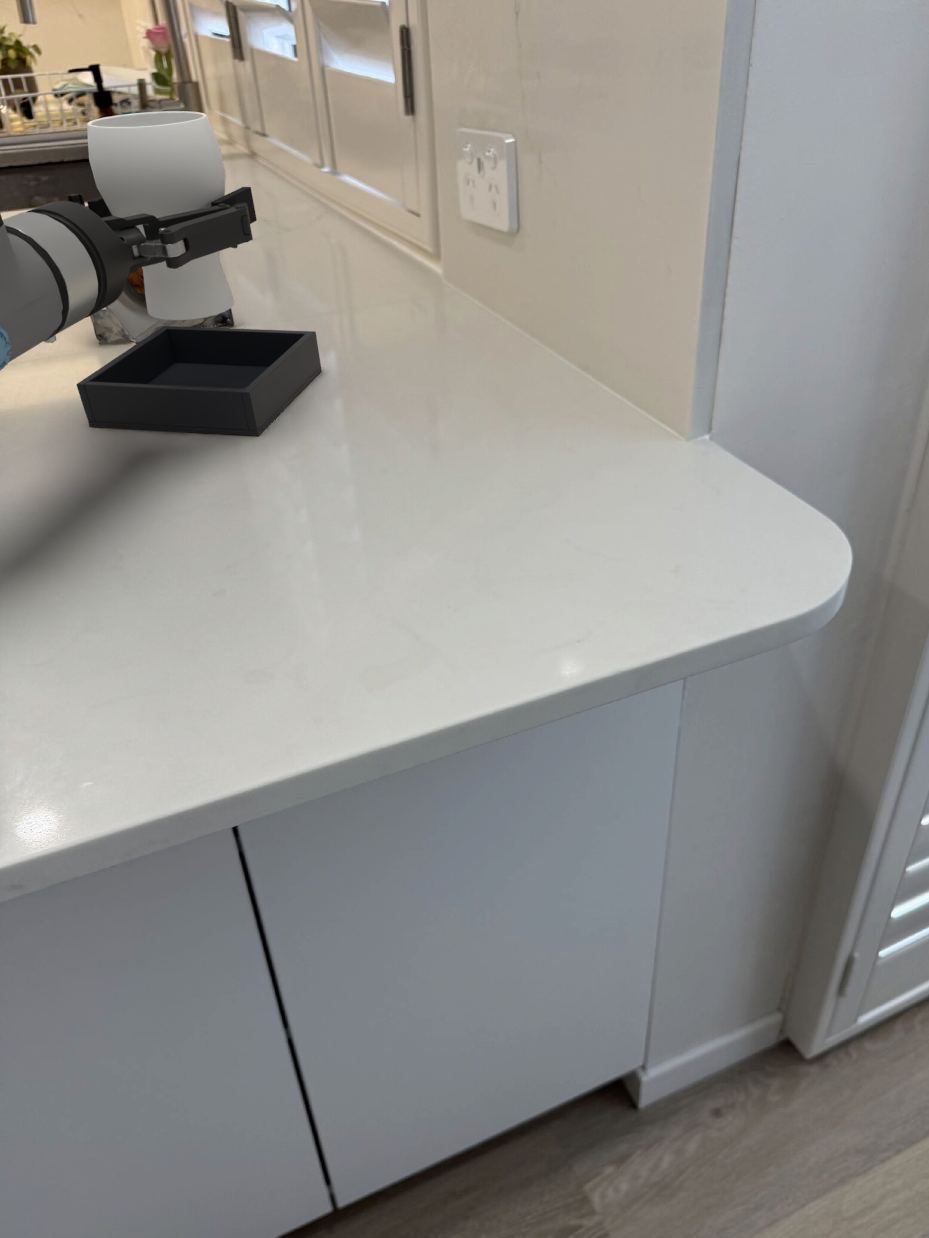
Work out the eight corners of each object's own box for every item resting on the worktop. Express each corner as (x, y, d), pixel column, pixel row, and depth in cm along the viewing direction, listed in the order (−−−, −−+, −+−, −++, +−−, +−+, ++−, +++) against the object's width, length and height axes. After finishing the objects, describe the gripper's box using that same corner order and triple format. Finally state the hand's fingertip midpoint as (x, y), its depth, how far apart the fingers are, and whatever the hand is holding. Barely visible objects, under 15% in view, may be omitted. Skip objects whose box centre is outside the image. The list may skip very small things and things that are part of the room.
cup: (187, 287, 92) (145, 108, 83) (274, 298, 88) (240, 112, 79) (106, 318, 85) (50, 126, 75) (197, 332, 81) (150, 131, 71)
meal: (227, 318, 112) (202, 196, 104) (235, 328, 109) (209, 203, 100) (95, 338, 107) (58, 211, 99) (99, 349, 104) (61, 219, 96)
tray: (89, 426, 87) (75, 384, 84) (172, 364, 99) (163, 325, 97) (258, 436, 84) (249, 392, 81) (321, 371, 97) (315, 331, 94)
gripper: (-68, 317, 72) (87, 246, 89) (214, 326, 68) (319, 250, 85) (-111, 209, 67) (61, 156, 84) (188, 212, 63) (305, 156, 80)
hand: (191, 203), depth 85 cm, fingers closed on cup, 11 cm apart
